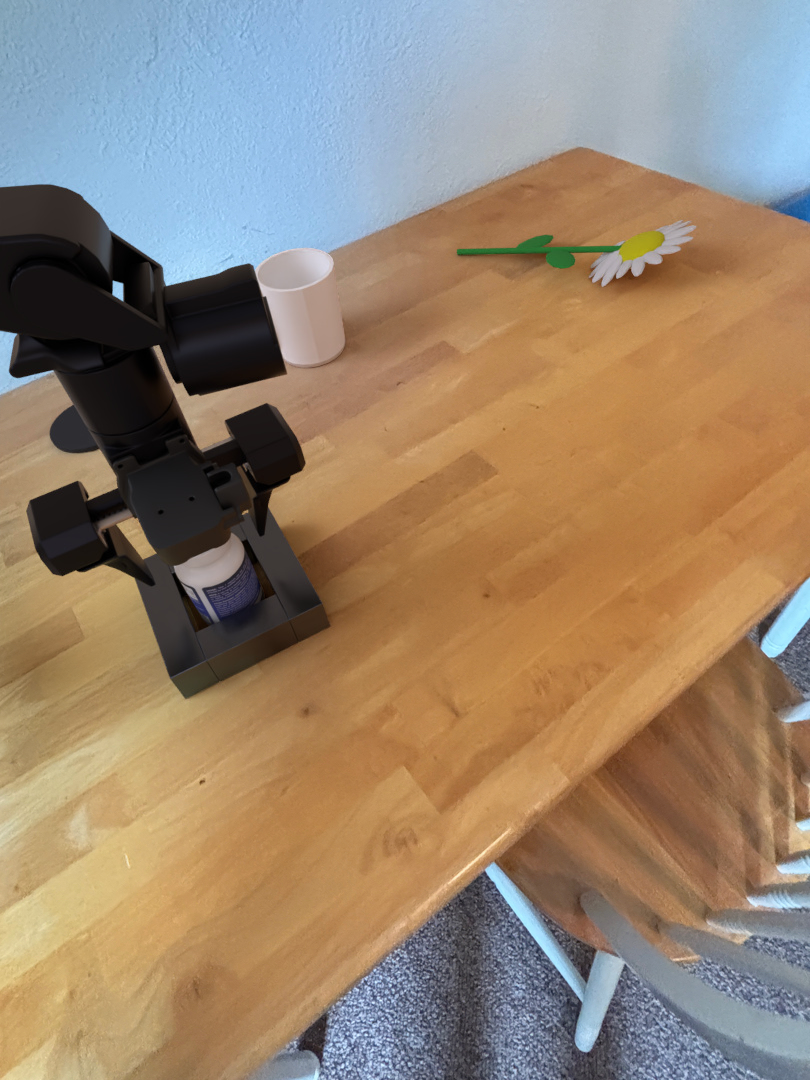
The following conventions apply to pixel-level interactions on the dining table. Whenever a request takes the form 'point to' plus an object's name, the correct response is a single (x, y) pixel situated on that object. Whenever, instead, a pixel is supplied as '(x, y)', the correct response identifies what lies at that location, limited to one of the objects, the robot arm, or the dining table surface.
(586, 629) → the dining table surface
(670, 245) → the decorative flower
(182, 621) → the stand
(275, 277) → the mug
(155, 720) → the dining table surface
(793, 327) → the dining table surface
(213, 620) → the pill bottle
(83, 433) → the coaster
